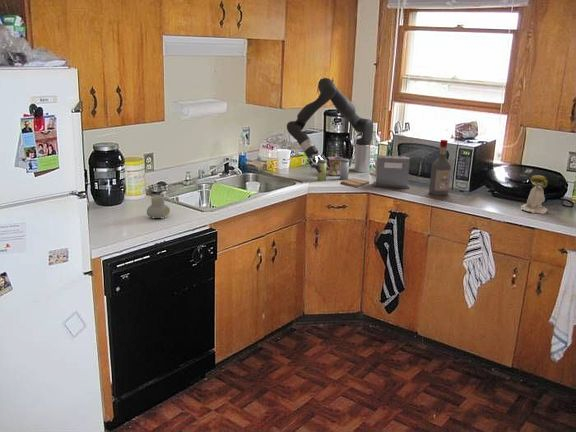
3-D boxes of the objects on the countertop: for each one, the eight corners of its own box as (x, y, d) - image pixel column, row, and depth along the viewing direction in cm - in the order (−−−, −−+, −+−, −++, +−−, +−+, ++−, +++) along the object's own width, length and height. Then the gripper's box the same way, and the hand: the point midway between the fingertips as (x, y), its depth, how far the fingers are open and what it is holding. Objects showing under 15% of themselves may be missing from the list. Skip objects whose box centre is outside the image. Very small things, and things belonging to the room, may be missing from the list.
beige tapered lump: (516, 206, 313) (521, 172, 308) (540, 207, 314) (545, 173, 309) (526, 213, 302) (531, 178, 297) (550, 213, 303) (556, 178, 297)
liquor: (450, 195, 332) (456, 141, 323) (435, 196, 330) (441, 142, 321) (441, 190, 341) (446, 138, 332) (427, 191, 338) (432, 139, 329)
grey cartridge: (342, 177, 365) (343, 158, 361) (349, 178, 362) (351, 159, 358) (338, 179, 361) (339, 159, 357) (345, 180, 358) (346, 160, 354)
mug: (342, 173, 375) (343, 156, 372) (342, 177, 366) (343, 160, 363) (323, 172, 376) (324, 156, 373) (322, 176, 367) (323, 159, 364)
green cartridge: (320, 178, 361) (321, 159, 357) (327, 180, 358) (328, 160, 354) (315, 180, 357) (316, 160, 353) (322, 181, 354) (323, 161, 350)
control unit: (373, 182, 354) (375, 154, 349) (407, 184, 352) (410, 156, 347) (374, 186, 345) (376, 157, 340) (409, 188, 344) (411, 159, 338)
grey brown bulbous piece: (161, 221, 276) (160, 200, 273) (145, 219, 278) (143, 199, 275) (171, 214, 286) (171, 194, 283) (156, 213, 288) (155, 193, 285)
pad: (351, 180, 359) (351, 178, 359) (368, 183, 352) (369, 181, 352) (340, 183, 350) (340, 181, 350) (357, 187, 343) (358, 185, 343)
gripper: (312, 150, 366) (327, 172, 362) (298, 154, 355) (313, 176, 352) (320, 143, 361) (335, 165, 358) (305, 146, 350) (320, 169, 347)
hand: (324, 170), depth 355 cm, fingers open, 7 cm apart
